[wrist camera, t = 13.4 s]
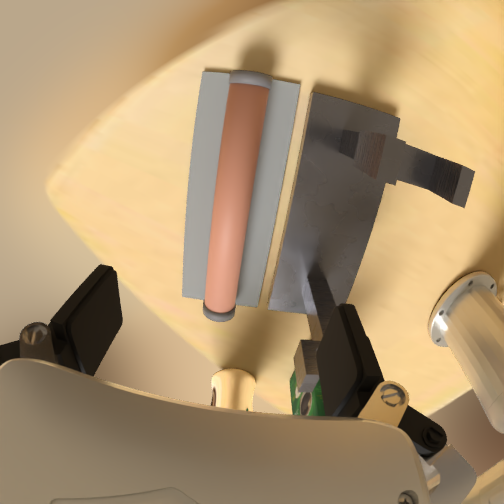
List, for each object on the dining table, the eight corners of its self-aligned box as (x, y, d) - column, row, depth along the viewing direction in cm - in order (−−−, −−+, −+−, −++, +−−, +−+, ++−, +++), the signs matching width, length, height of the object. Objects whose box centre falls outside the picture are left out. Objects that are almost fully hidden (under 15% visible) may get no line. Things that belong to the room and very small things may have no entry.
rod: (231, 74, 20) (229, 68, 17) (270, 80, 20) (274, 74, 17) (204, 299, 29) (201, 319, 26) (235, 303, 30) (234, 323, 27)
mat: (299, 85, 20) (300, 84, 20) (257, 305, 30) (257, 307, 30) (203, 72, 20) (202, 71, 19) (183, 294, 30) (182, 296, 29)
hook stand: (394, 117, 21) (497, 134, 9) (337, 310, 30) (369, 408, 19) (310, 93, 20) (370, 70, 9) (267, 302, 30) (272, 409, 18)
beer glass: (198, 373, 36) (181, 472, 22) (242, 360, 34) (237, 468, 21) (225, 398, 38) (218, 488, 25) (267, 387, 37) (269, 483, 24)
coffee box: (307, 383, 37) (318, 465, 25) (287, 381, 36) (295, 465, 25) (327, 344, 33) (348, 436, 21) (305, 342, 33) (321, 438, 21)
